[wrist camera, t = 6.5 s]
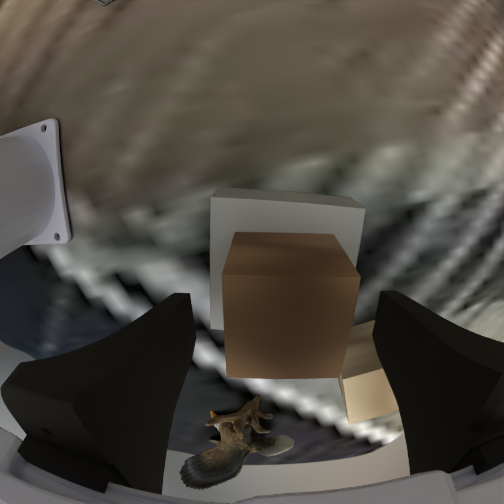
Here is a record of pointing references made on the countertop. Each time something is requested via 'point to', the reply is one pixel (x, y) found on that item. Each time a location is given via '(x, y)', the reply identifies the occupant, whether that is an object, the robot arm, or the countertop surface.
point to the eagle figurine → (232, 447)
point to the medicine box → (103, 2)
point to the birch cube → (364, 378)
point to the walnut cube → (287, 305)
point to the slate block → (276, 225)
